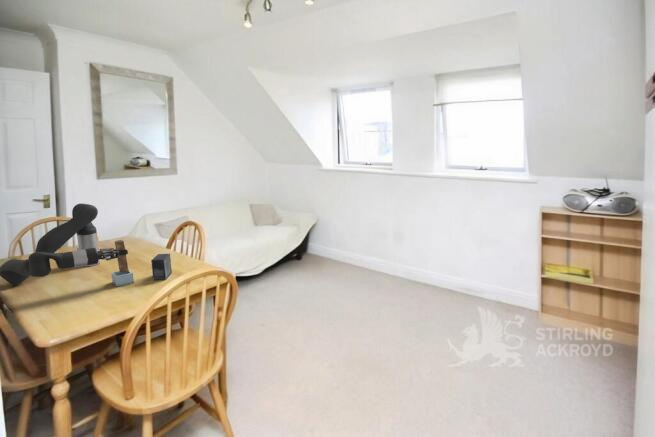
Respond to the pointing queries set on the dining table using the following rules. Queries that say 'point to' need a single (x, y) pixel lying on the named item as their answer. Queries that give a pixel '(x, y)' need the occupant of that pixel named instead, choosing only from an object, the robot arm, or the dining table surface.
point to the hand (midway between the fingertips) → (126, 251)
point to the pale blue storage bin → (122, 278)
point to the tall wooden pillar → (121, 256)
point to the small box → (161, 266)
